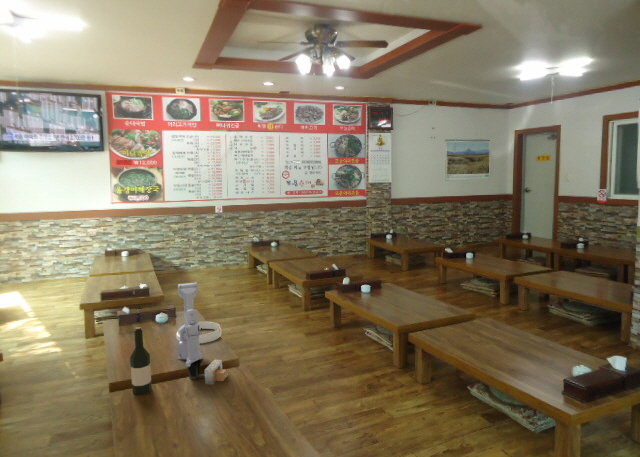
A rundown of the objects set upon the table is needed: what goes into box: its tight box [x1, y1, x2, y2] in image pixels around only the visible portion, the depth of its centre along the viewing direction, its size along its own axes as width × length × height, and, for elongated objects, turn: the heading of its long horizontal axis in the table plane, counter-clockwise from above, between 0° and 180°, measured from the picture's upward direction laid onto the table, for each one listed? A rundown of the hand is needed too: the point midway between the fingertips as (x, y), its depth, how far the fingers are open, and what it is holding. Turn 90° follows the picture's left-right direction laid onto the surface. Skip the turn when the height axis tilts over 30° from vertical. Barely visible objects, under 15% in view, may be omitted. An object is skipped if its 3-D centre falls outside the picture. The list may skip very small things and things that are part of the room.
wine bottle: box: [129, 326, 153, 396], centre depth 207 cm, size 8×8×30 cm
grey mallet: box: [188, 367, 229, 382], centre depth 220 cm, size 19×4×6 cm, turn 81°
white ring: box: [176, 320, 223, 344], centre depth 279 cm, size 27×27×6 cm
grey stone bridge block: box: [204, 359, 223, 385], centre depth 219 cm, size 4×12×7 cm, turn 171°
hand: (195, 374), depth 221 cm, fingers closed on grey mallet, 3 cm apart
